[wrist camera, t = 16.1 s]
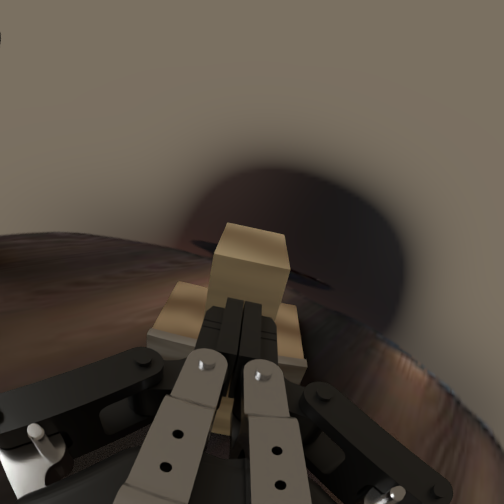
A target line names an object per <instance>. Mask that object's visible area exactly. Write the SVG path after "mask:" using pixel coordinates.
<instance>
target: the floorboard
mask: <svg viewBox="0 0 504 504" xmlns="http://www.w3.org/2000/svg"><path fill="white" fill-rule="evenodd" d="M207 293H208V288H206V287H202V286H197V285H193V284H189V283H184V282H180V281H178V283H177V285H176V286H175V288H174V290H173V292H172V293H171V295H170V297H169V299H168V301H167V302H166V304H165V306H164V308H163V310H162V311H161V313H160V315H159V317H158V319H157V320H156V322H155V324H154V326H153V328H150V329H149V331H148V333H147V348H151V349H153V350H155V351H157V352H158V353H159V354H160V355H161V356H162V358H163V360H181V359H184V358H186V357H188V355H189V354H190V353H191V352H192V351H194V348H195V345H196V342H197V339H198V335H199V332H200V329H201V326H202V323H203V318H204V312H205V305H206V299H207ZM275 324H276V325H277V346H278V367H279V368H280V369H281V370H282V372H283V376H284V377H285V378H286V379H287V380H289V381H291V382H293V383H295V384H297V385H299V384H300V382H301V380H302V378H303V376H304V374H305V371H306V369H307V361H306V359H304V356H303V349H302V342H301V336H300V329H299V323H298V316H297V310H296V306H294V305H289V304H284V303H280V306H279V309H278V313H277V316H276V319H275Z"/></svg>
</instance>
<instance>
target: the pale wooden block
mask: <svg viewBox="0 0 504 504" xmlns="http://www.w3.org/2000/svg"><path fill="white" fill-rule="evenodd" d="M289 273H290V265H289V259H288V253H287V248H286V243H285V237H284V235H282V234H278V233H273V232H268V231H264V230H259V229H255V228H250V227H246V226H240V225H236V224H231V223H227V225H226V227H225V230H224V232H223V234H222V237H221V239H220V241H219V243H218V246H217V248H216V250H215V253H214V257H213V263H212V269H211V275H210V281H209V287H208V293H207V299H206V305H205V312H204V317H205V313H206V311H207V310H208V309H210V308H211V307H212V306H217V307H222V308H225V306H226V302H227V297H230V298H234V299H239V300H244V303H245V301H249V302H254V303H259V304H262V316H266V317H271V318H272V319H273V321H274V322H275V319H276V316H277V313H278V309H279V306H280V303H281V300H282V296H283V293H284V290H285V286H286V283H287V280H288V276H289ZM243 307H244V305H243ZM203 320H204V318H203ZM229 385H230V384H229ZM228 392H229V388H228ZM228 392H227V395H226V397H223V396H222V399H221V404H220V407H219V409H218V410H217V413H216V416H215V420H214V424H213V427H212V431H211V432H213V433H218V434H223V435H229V436H230V415H231V411H232V407H233V401H234V398H228Z"/></svg>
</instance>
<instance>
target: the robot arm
mask: <svg viewBox="0 0 504 504" xmlns="http://www.w3.org/2000/svg"><path fill="white" fill-rule="evenodd" d="M0 41H1V35H0ZM243 305H244V307H243ZM229 384H230V385H229ZM228 388H229V392H228ZM227 392H228V398H234V401H233V407H232V411H231V415H230V452H229V459H220V458H218V457H215V456H213V455H210V454H208V453H206V449H207V445H208V442H209V438H210V434H211V431H212V427H213V424H214V420H215V416H216V413H217V410H218V409H219V407H220V404H221V399H222V396H223V397H226V395H227ZM152 422H153V423H152ZM150 423H152V425H151V427H150V429H149V432H148V434H147V436H146V438H145V440H144V443H143V445H142V446H136V447H132V448H128V449H125V450H122V451H120V452H118V453H116V454H114V455H112V456H110V457H108V458H106V459H104V460H102V461H100V462H98V463H96V464H94V465H92V466H90V467H88V468H86V469H84V470H82V471H80V472H78V473H75V474H73V475H71V476H69V477H67V478H64V477H66V476H67V475H69V474H70V473H71V471H72V469H73V466H74V459H75V458H77V457H80V456H82V455H85V454H87V453H89V452H92V451H94V450H96V449H98V448H101V447H103V446H105V445H107V444H109V443H112V442H114V441H116V440H118V439H120V438H122V437H124V436H126V435H129V434H131V433H133V432H135V431H137V430H139V429H141V428H143V427H145V426H147V425H149V424H150ZM323 432H324V433H323ZM332 440H333V441H334V442H335V443H336V444H337V445H338V446H339V447H340V448H341V449H340V448H339V447H338V446H337V445H336V444H335V443H334V442H333V441H332ZM0 460H1V462H2V465H3V467H4V470H5V472H6V474H7V477H8V479H9V481H10V483H11V486H12V488H13V490H14V492H15V494H16V496H17V498H18V500H17V501H16V502H15V503H14V504H337V503H336V502H335V501H334V500H333V499H332V498H331V497H330V496H329V495H328V494H327V493H326V492H325V491H324V490H323V489H322V488H321V487H320V486H319V485H318V484H317V483H316V482H314V481H313V480H312V479H311V478H309V477H307V470H306V467H307V468H308V469H309V470H310V472H311V473H312V474H314V475H315V476H316V477H317V478H318V479H319V480H320V481H321V482H322V483H323V484H324V485H325V486H326V487H327V488H328V489H329V490H330V491H331V492H332V493H333V494H334V495H335V496H336V497H338V498H339V499H340V500H341V501H342V502H343V503H344V504H449V503H450V502H451V500H452V497H453V489H452V486H451V484H450V483H449V481H448V480H447V479H446V478H444V477H443V476H442V475H440V474H439V473H438V472H436V471H435V470H434V469H432V468H431V467H430V466H429V465H427V464H426V463H425V462H423V461H422V460H421V459H420V458H418V457H417V456H416V455H415V454H413V453H412V452H411V451H410V450H408V449H407V448H406V447H405V446H403V445H402V444H401V443H400V442H399V441H397V440H396V439H395V438H394V437H392V436H391V435H390V434H389V433H388V432H386V431H385V430H384V429H383V428H382V427H380V426H379V425H378V424H377V423H376V422H374V421H373V420H372V419H371V418H370V417H369V416H367V415H366V414H365V413H364V412H363V411H361V410H360V409H359V408H358V407H357V406H356V405H355V404H353V403H352V402H351V401H350V400H349V399H348V398H346V397H345V396H344V395H343V394H342V393H341V392H340V391H338V390H337V389H336V388H335V387H334V386H332V385H330V384H328V383H325V382H312V383H310V384H308V385H307V386H306V387H303V386H300V385H297V384H295V383H293V382H291V381H289V380H287V379H286V378H285V377H284V376H283V372H282V370H281V369H280V368H279V367H278V346H277V325H276V324H275V322H274V321H273V319H272V318H271V317H266V316H262V304H259V303H254V302H249V301H245V303H244V300H239V299H234V298H230V297H227V302H226V306H225V308H222V307H217V306H212V307H211V308H210V309H208V310H207V311H206V313H205V317H204V320H203V323H202V326H201V329H200V332H199V335H198V339H197V342H196V345H195V348H194V351H192V352H191V353H190V354H189V355H188V357H186V358H184V359H181V360H163V358H162V356H161V355H160V354H159V353H158V352H157V351H155V350H153V349H151V348H147V347H136V348H132V349H130V350H127V351H124V352H122V353H119V354H116V355H114V356H111V357H108V358H105V359H103V360H100V361H97V362H94V363H92V364H89V365H86V366H83V367H80V368H77V369H75V370H72V371H69V372H66V373H63V374H60V375H57V376H54V377H51V378H48V379H45V380H42V381H39V382H36V383H33V384H30V385H26V386H23V387H20V388H17V389H14V390H10V391H7V392H4V393H0ZM62 478H64V479H62ZM61 479H62V480H61Z"/></svg>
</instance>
